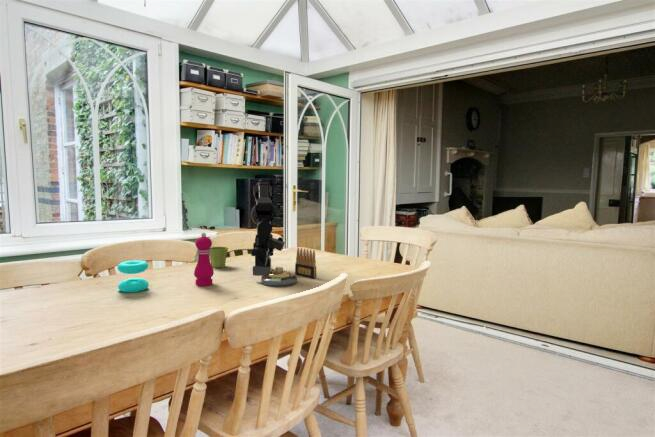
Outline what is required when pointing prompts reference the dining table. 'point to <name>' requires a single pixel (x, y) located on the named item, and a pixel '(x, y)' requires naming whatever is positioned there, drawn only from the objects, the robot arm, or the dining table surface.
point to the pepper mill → (203, 262)
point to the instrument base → (279, 281)
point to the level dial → (271, 272)
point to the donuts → (133, 283)
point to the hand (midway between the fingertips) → (263, 268)
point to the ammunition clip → (305, 264)
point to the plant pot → (218, 256)
